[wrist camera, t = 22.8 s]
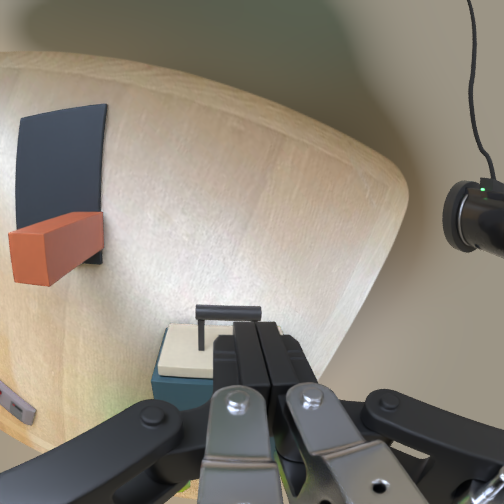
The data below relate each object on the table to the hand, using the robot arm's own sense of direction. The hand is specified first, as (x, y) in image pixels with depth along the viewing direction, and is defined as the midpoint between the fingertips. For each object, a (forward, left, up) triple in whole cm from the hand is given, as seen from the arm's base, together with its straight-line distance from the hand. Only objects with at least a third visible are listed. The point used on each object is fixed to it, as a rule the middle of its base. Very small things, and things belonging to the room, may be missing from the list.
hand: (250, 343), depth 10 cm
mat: (-5, -21, -21) cm, 30 cm away
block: (0, -16, -20) cm, 26 cm away
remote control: (+33, -42, -21) cm, 57 cm away
